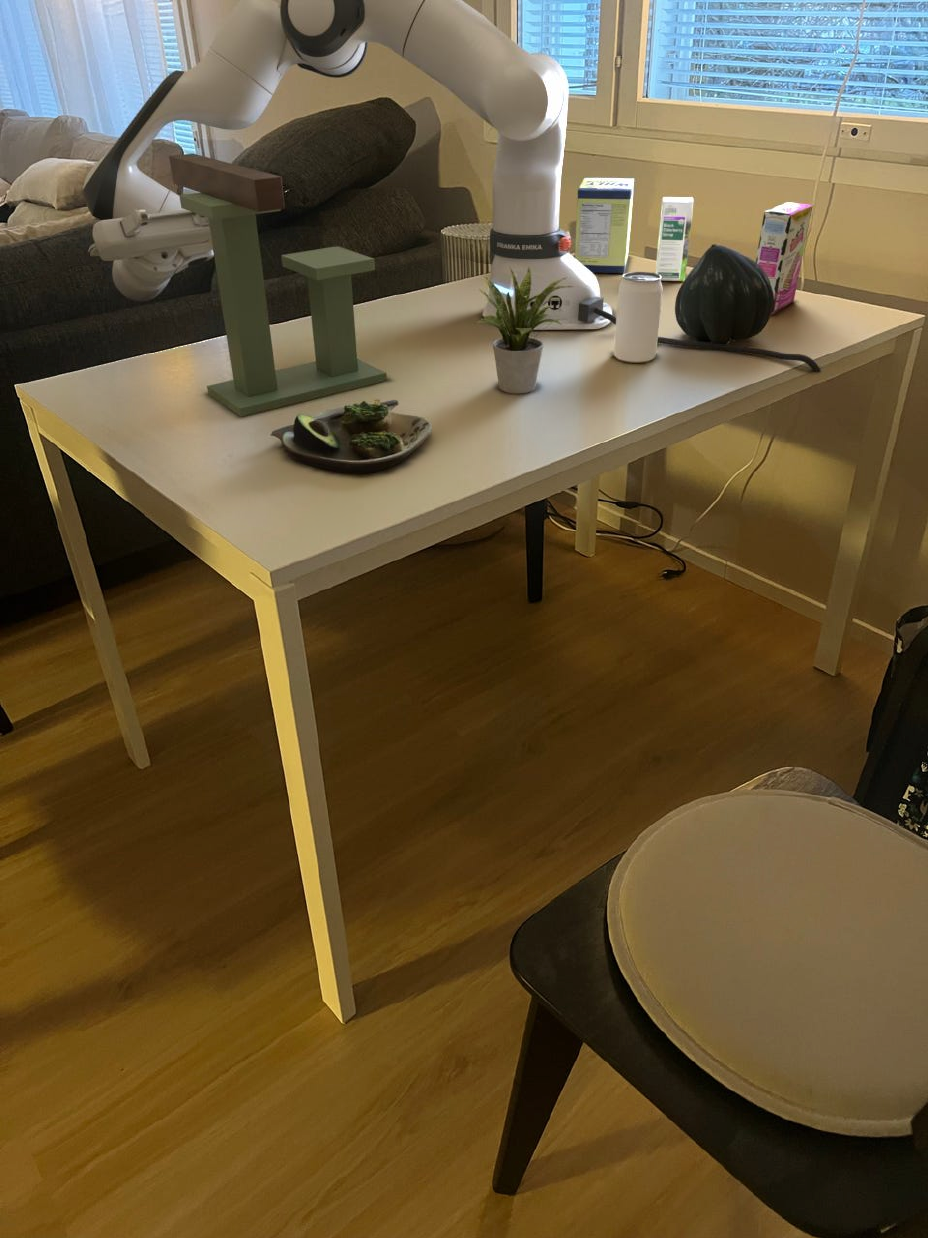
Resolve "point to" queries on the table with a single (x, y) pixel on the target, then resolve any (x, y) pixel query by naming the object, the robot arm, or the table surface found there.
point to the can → (638, 317)
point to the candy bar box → (783, 249)
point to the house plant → (518, 334)
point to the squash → (724, 298)
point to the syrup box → (674, 238)
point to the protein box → (604, 223)
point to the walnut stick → (228, 182)
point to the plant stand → (250, 322)
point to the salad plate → (354, 437)
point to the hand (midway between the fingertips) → (174, 209)
